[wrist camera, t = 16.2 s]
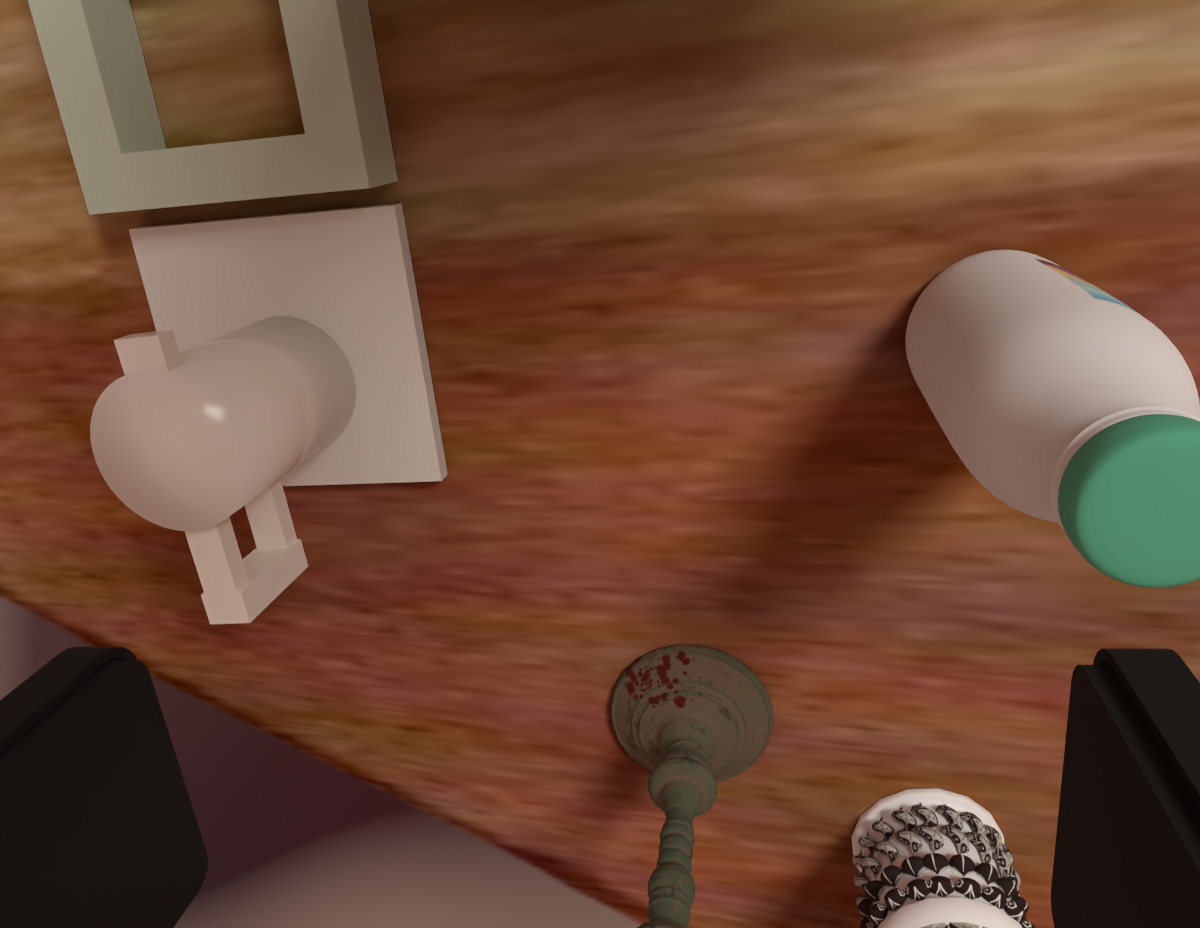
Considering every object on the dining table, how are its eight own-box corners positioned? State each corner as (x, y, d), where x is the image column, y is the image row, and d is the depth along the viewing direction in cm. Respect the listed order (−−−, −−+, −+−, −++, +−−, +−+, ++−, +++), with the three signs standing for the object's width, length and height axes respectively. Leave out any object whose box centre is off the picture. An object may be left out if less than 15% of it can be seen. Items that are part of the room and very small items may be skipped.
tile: (140, 226, 47) (128, 229, 46) (401, 203, 44) (394, 205, 43) (209, 482, 52) (199, 488, 51) (447, 473, 49) (441, 481, 48)
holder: (49, -115, 42) (-11, -132, 38) (339, -164, 39) (301, -188, 36) (135, 206, 46) (89, 214, 43) (398, 181, 44) (369, 188, 41)
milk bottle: (908, 422, 44) (1013, 653, 26) (897, 261, 42) (1005, 391, 23) (1082, 402, 43) (1325, 634, 24) (1082, 234, 40) (1355, 350, 22)
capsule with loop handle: (205, 298, 47) (56, 347, 37) (331, 282, 45) (211, 329, 36) (272, 533, 51) (154, 632, 41) (389, 525, 50) (295, 626, 40)
